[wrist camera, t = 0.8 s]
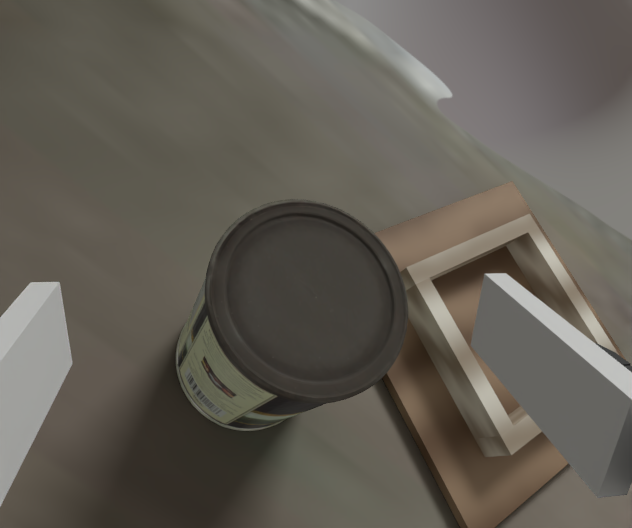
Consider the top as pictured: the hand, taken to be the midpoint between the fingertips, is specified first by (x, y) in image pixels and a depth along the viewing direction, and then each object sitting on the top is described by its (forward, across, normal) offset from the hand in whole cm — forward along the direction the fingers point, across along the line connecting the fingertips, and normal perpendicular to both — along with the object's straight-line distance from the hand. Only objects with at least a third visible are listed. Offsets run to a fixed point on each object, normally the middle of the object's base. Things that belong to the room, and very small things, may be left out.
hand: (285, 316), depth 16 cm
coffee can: (+17, -1, -13) cm, 22 cm away
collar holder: (+22, +21, -14) cm, 34 cm away
